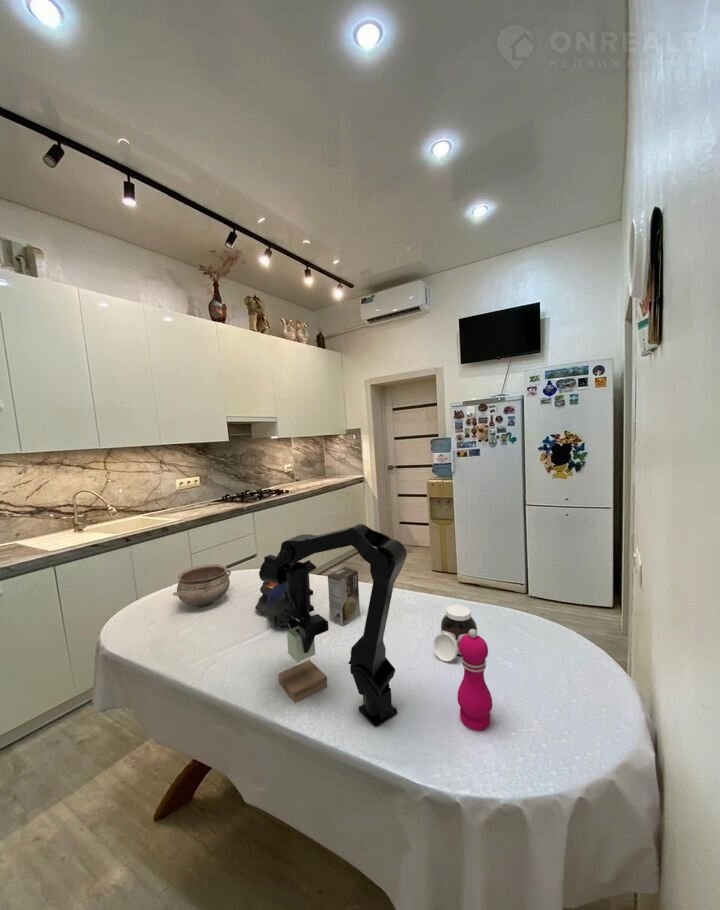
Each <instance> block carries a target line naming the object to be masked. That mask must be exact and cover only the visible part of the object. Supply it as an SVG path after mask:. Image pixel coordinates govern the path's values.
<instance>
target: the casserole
mask: <svg viewBox="0 0 720 910" xmlns="http://www.w3.org/2000/svg"><path fill="white" fill-rule="evenodd" d="M275 585H277V584H275V583H270V582H265V581H263V582H262V583H261V586H260V588H259V591H260V593H261V594H262V595H260V597H259V598H258V601H257V604H256V605H255V607H254V608H255V610H256V611H258V612H260V613H264V611H265V610H266V609H267V600H268V595H269V593H270V592H271V590H272V589H273V587H274V586H275Z"/></svg>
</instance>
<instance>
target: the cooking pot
mask: <svg viewBox="0 0 720 910" xmlns="http://www.w3.org/2000/svg"><path fill="white" fill-rule="evenodd" d="M231 574H232V571H231V570H229V569H228V568H227V566H226V565H223V564H216V563H215V564H213V563H212V564H204V565H198V566H194V567H191V568H189V569H186V570H184V571H182V572H181V573H179V574H178V577H177V579H178V583H177V587H176V588H177V589H176V591H174V592H172V596H175V597H178V599H179V600H180V601H181V602H182V603H184V604H185V605H190V606H194V607H198V608H204V607H207V606H210V605H213V604H214V603H216V602H217V601H219V599H222V597H224V595H226V593H227V592H228V590H229V588H230V584H231V580H230V575H231Z"/></svg>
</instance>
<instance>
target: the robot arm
mask: <svg viewBox="0 0 720 910" xmlns="http://www.w3.org/2000/svg"><path fill="white" fill-rule="evenodd" d="M350 546H351V547H353V548H354V549H356V551H357V552H358V554H359V555H360V557H361V558H362V559H363V560H364V561H366V562H367V563H368V564H369V565H370V566H369V572H370V576H371V578H372V587H371V592H370V597H369V604H368V609H367V612H366V613H367V615H366V619H365V625H364V629H363V634H362V636H361V637H360V638H359V639H358V640H357V641H356V642H355V644H353V645H352V647H351V649H350V659H349V661H348V662H347V665H350V667H349V671H350V674H351V675H352V677H353V680H354V683H355V687H356V690H357V691H358V692H357V693H358V695H361V696H362V699H363V700H362V702H363V704H362V705H360V706H358V712H360V713H361V715H362V716H364V718H366V719H367V720H368V722H370V724H371V725H373V726H374V727H375V728H376V727H377V728H378V726H380V725H382V724H383V723H385V722H386V721H388V720H389V719H391V718H392V717H394V716H396V715H397V714H398V710H397V708H396V707H394V706H393V704H392V688H391V687H390V682H391V680H392V679H393V678H394V676H395V673H396V668H395V667H394V665H393V664H392V662H390V661H389V659H388V658H387V657H386V656H387V655H386V653H387V652H386V649H387V648H386V646H385V642H384V637H385V632H386V627H387V621H388V615H389V611H390V606H391V602H392V595H393V592H394V591H393V590H394V585H395V582H396V580H397V578H398V577H399V575H400V573H401V571H402V569H403V566H404V563H405V561H406V559H407V556H408V555H407V553H408V552H407V549H406V547H405V546H404V544H403V543H402V542H400V541H399V540H397V539H392V538H391V537H389V536H388V535H386V534H385V533H381V532H379V531H376V530H374V529H371V527H368V525H365V524H364V523H363V524H362V523H358V524H356V525H354V526H350V527H346V528H343V529H342V528H341V529H338V530H334V531H330V532H326V533H322V534H318V535H314V534H299V535H296V536H294V537H292V538H289V539H286V540H284V541H283V542H282V543H281V545H280V550H279V552H278V553H277V556H276V555H274V554H268V555H266V556H264V558H263V559H264V561H263V562H262V564H261V565H260V568H259V571H258V575H259V579H260V580H261V581H263V582H264V581H265V582H270V583H275V584H280V585H282V584H284V583H286V586H287V590H286V591H284V593H283V598H280V599H277V600H276V602H275V603H274V604H273V605H272V606H270V607H269V608H267V609H266V610H265V611H264V612H263V614H264V617H265V618H266V620H267V623H268V624H269V625H270V626H272V628H273V629H279V628H280V627H284V626H283V625H284V624H285V623H287V624H288V626H287V627H288V628H289V629H292V628H294V627H297V626H298V629H297V630H295V631H296V632H297V633H298V634H299V635H300V636H301V640H302V645H303V650H304V653H307V652H309V650H310V647H311V645H312V643H313V640H314V641H315V639H316V637H317V636H318V635H321V634H323V633H326V632H328V631H329V621H328V620H327V619H326V618H324V617H323V616H322V615H320V614H319V613H316V614H313V615H311V614H310V613H312V612H314V611H315V606H314V605H312V604H311V596H314V590H313V589H311V588H310V587H311V586H310V573H311V572H313V571H315V570H316V569H317V566H316V565H315V564H314V563H312V562H311V560H309V559H308V560H306V561H304V562H303V561H302V560H304V559H306V558H308V557H310V556H312V555H315V554H319V553H322V552H328V551H331V550H337V549H341V548H342V549H343V548H345V547H350ZM289 629H288V630H289Z"/></svg>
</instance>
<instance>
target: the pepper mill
mask: <svg viewBox="0 0 720 910" xmlns="http://www.w3.org/2000/svg"><path fill="white" fill-rule="evenodd" d="M459 651H460V654H461V655H462V657H460V658H461V665H462V667H463V671H464V673H463V678H462V679H461V682H460V684H459V686H458V691H457V695H456V696H457V703H458V706H459V717H460V720H461V723H462V724H463V725H464V726H465V727H467V728H468V729H470V730H473V731H477V732H478V731H484V730H487V729H488V728H490V725H491V711H492V709H493V698H492V697H493V696H492V694H491V692H490V689H489V688H488V686H487V683H486V680H485V670H486V668H487V660H486V659H487V657H488V655H489V647H488V645H487V642H486V641H485V639H484V638H483V637H482V636H480V635H479V634H478V630H477V631H476V630H474V629H470V630H469V634H467V635H465V636H463V637H462V638H461V640H460V642H459Z"/></svg>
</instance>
